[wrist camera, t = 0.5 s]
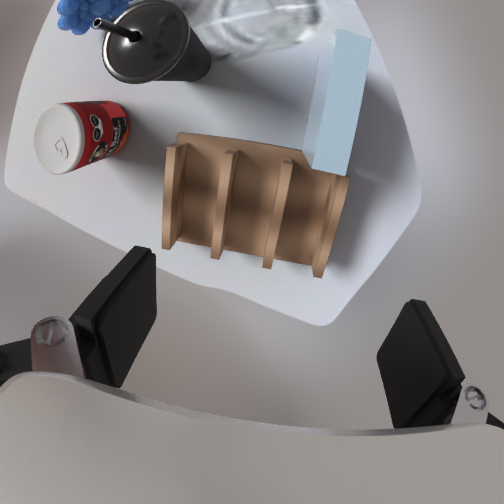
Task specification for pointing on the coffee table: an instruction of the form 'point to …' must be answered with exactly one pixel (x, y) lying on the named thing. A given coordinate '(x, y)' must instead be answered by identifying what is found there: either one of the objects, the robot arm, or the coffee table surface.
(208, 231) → the dish rack
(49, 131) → the canned food
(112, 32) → the drinking cup
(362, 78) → the light blue square slab
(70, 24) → the grapes
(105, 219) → the coffee table surface
